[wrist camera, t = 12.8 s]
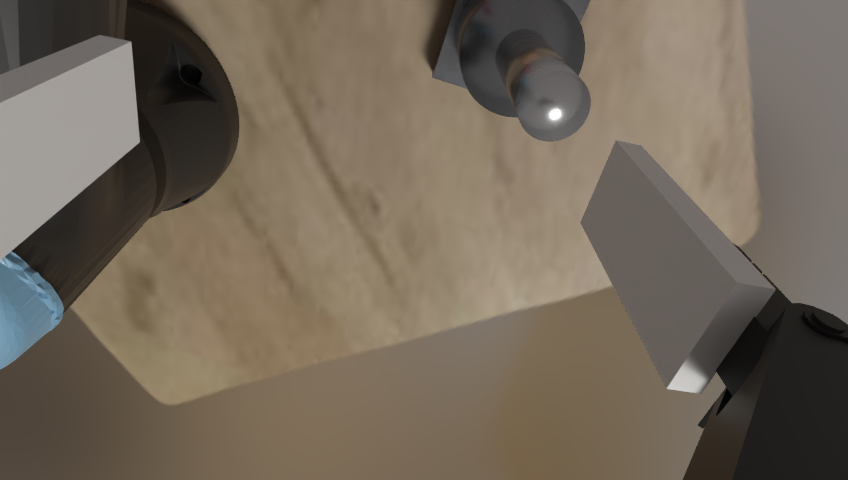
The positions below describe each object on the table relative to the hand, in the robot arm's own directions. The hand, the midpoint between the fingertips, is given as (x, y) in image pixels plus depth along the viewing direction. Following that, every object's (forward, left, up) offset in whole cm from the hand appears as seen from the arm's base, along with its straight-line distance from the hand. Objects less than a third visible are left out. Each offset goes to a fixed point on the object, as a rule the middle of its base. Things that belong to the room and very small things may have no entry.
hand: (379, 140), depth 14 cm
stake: (+7, 0, -24) cm, 25 cm away
